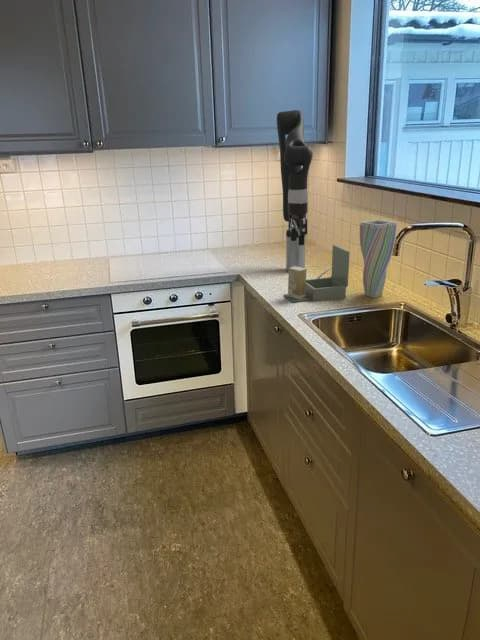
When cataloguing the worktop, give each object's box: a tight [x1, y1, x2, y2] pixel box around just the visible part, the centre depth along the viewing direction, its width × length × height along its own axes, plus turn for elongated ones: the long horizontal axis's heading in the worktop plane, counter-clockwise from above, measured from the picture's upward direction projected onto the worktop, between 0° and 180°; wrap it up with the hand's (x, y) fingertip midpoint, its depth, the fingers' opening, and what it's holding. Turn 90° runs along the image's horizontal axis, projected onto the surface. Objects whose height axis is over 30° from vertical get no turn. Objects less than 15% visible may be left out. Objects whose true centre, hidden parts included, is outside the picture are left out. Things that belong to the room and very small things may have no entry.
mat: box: [283, 293, 312, 304], centre depth 203 cm, size 10×8×1 cm
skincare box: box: [287, 266, 307, 299], centre depth 201 cm, size 6×4×12 cm
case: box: [305, 244, 350, 302], centre depth 204 cm, size 15×15×19 cm
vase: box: [359, 219, 397, 299], centre depth 199 cm, size 14×14×30 cm
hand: (297, 242), depth 195 cm, fingers open, 8 cm apart
